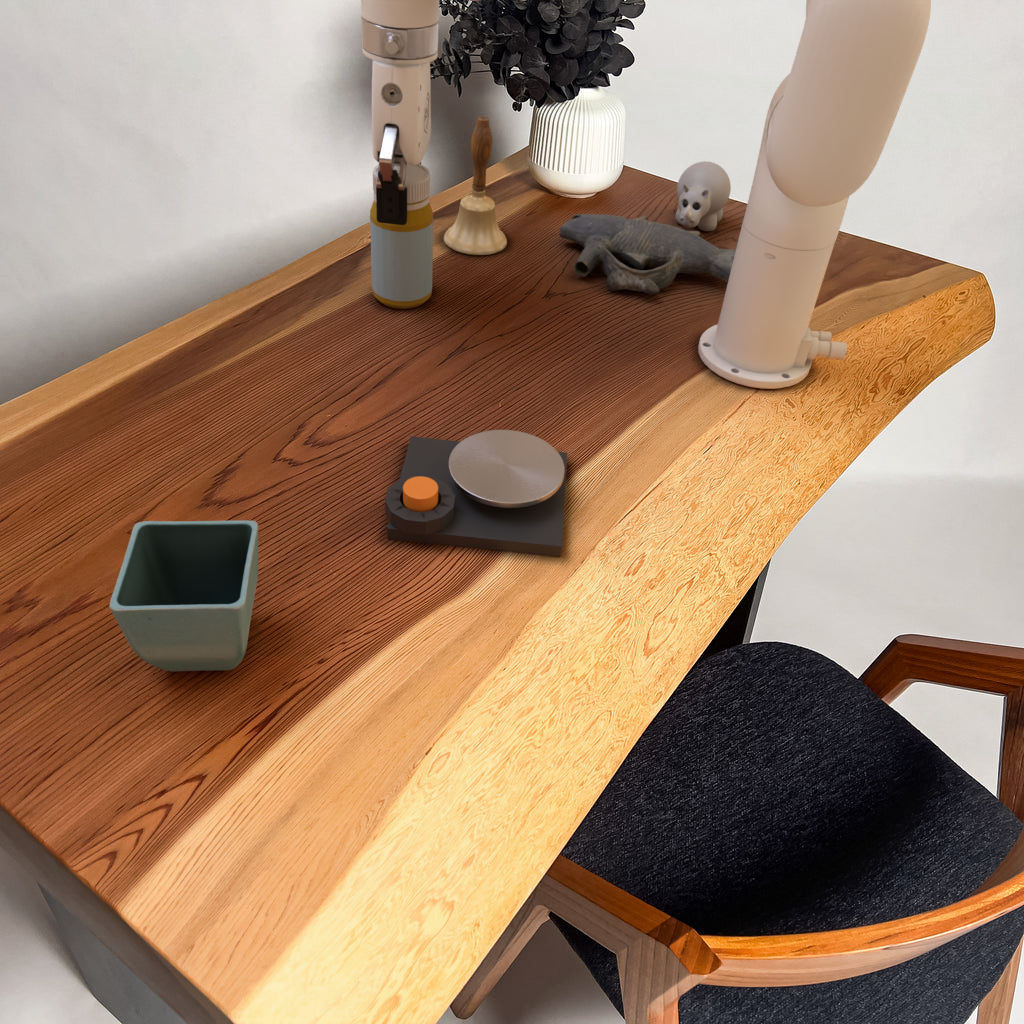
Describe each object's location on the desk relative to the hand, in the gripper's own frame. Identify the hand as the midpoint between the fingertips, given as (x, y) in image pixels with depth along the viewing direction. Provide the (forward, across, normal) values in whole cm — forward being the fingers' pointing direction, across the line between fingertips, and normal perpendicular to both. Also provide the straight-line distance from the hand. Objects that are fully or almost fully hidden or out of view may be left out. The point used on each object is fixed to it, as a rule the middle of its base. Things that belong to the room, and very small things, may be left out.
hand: (399, 203), depth 106 cm
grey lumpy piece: (+11, +12, -29) cm, 34 cm away
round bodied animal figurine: (+11, +26, -36) cm, 46 cm away
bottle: (+12, 0, 0) cm, 12 cm away
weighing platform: (+8, -34, -15) cm, 38 cm away
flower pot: (+12, -55, +6) cm, 57 cm away
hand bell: (+12, +16, -7) cm, 21 cm away
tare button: (+9, -39, -8) cm, 41 cm away
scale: (+11, -35, -13) cm, 39 cm away
